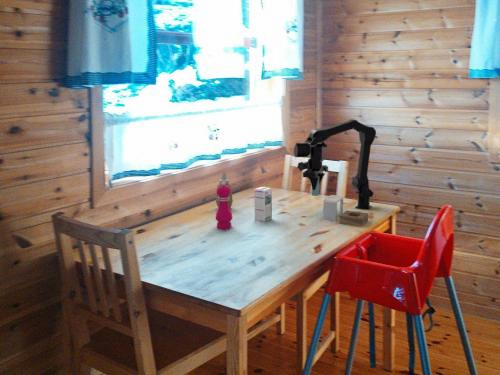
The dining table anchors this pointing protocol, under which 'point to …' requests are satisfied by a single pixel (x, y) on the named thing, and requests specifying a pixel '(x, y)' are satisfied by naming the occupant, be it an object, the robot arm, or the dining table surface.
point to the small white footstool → (332, 207)
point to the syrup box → (263, 203)
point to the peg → (316, 190)
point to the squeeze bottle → (226, 185)
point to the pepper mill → (223, 207)
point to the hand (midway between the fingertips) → (315, 189)
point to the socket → (353, 218)
